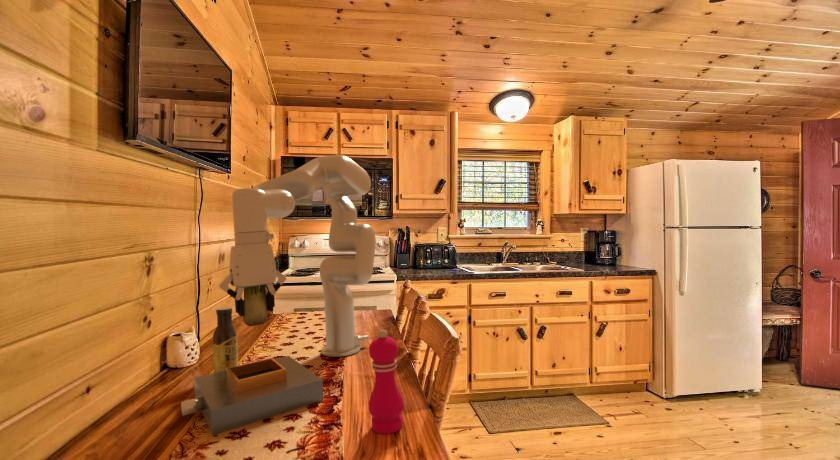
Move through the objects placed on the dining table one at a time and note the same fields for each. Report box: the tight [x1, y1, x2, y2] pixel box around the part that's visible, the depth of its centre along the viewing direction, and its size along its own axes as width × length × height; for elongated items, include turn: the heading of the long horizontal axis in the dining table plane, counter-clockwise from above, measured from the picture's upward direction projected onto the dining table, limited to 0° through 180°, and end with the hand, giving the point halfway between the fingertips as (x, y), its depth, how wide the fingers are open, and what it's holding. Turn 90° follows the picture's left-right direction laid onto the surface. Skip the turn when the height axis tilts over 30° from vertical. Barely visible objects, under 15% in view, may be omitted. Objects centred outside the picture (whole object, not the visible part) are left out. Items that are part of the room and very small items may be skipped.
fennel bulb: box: [242, 285, 268, 327], centre depth 99 cm, size 6×5×12 cm
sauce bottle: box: [212, 306, 239, 373], centre depth 114 cm, size 6×6×20 cm
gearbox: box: [180, 355, 324, 436], centre depth 99 cm, size 28×24×8 cm
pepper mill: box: [368, 329, 405, 435], centre depth 83 cm, size 7×7×20 cm
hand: (255, 312), depth 100 cm, fingers closed on fennel bulb, 6 cm apart
